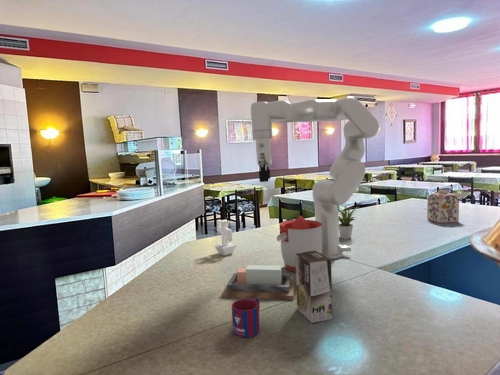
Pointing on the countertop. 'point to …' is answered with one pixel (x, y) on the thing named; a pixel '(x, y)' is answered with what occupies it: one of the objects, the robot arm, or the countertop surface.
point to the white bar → (260, 275)
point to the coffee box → (314, 286)
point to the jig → (261, 289)
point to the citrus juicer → (299, 239)
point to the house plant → (346, 223)
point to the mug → (246, 317)
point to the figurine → (225, 238)
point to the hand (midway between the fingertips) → (265, 180)
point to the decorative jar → (443, 207)
